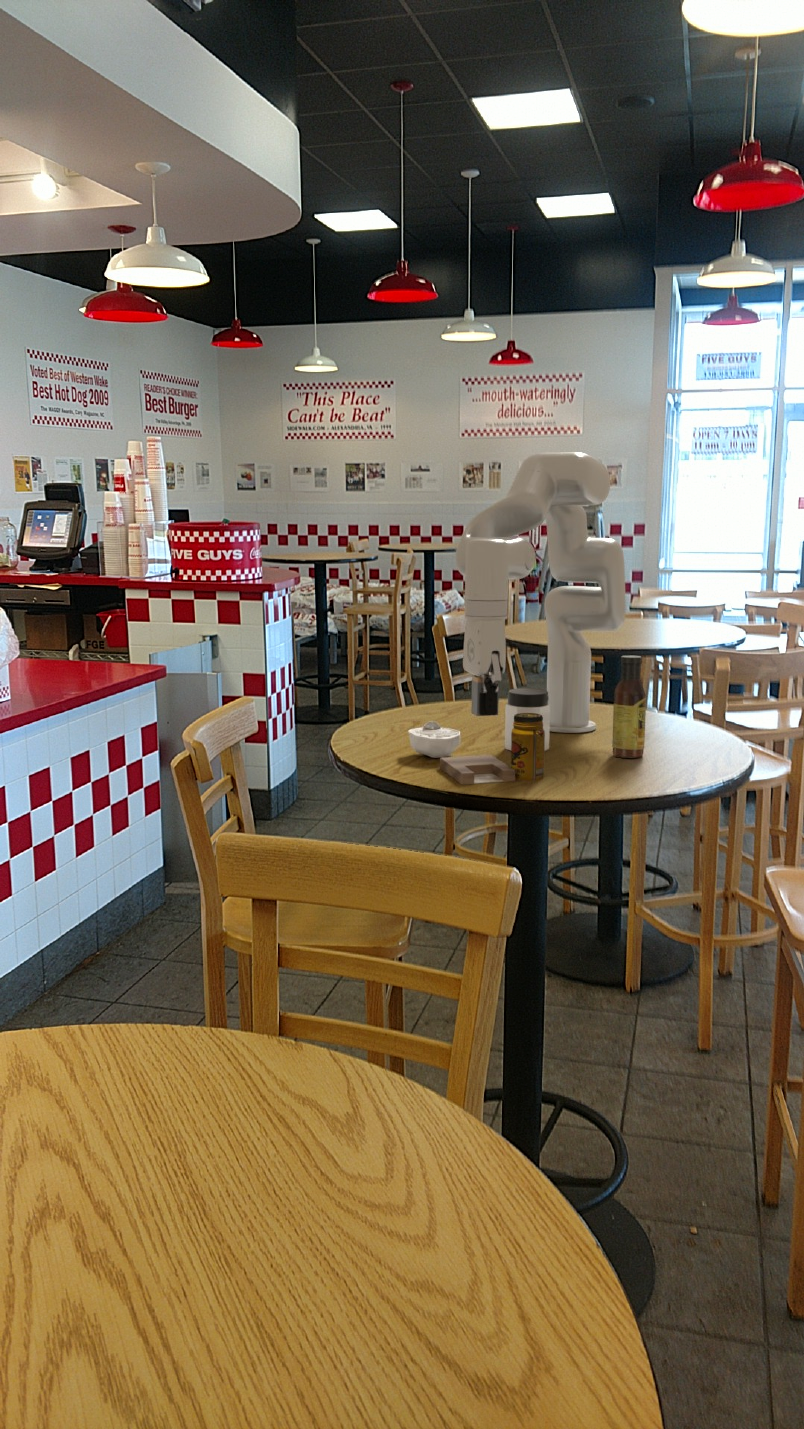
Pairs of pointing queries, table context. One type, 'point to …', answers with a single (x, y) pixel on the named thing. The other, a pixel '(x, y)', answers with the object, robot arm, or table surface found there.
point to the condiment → (528, 746)
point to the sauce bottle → (629, 710)
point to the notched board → (477, 769)
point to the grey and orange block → (478, 695)
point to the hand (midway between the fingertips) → (484, 712)
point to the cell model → (434, 740)
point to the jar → (526, 710)
